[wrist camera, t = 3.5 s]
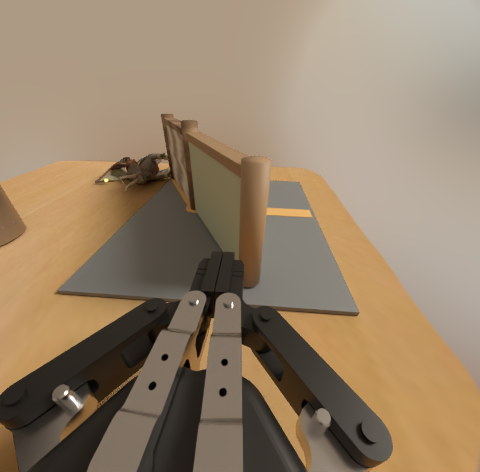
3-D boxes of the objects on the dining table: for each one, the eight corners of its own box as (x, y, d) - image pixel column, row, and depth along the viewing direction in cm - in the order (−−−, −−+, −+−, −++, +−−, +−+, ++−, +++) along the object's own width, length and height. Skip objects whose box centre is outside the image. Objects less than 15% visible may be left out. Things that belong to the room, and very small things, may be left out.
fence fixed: (205, 209, 38) (199, 121, 31) (192, 212, 38) (182, 122, 30) (180, 176, 53) (171, 111, 45) (170, 177, 52) (159, 111, 45)
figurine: (161, 164, 42) (71, 174, 40) (169, 193, 45) (86, 203, 44) (173, 144, 58) (109, 151, 57) (178, 166, 62) (118, 173, 60)
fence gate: (193, 211, 37) (183, 128, 30) (206, 208, 38) (200, 127, 31) (244, 290, 23) (250, 165, 15) (263, 283, 23) (278, 162, 16)
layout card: (55, 293, 23) (52, 289, 22) (172, 177, 53) (171, 175, 53) (357, 315, 21) (359, 311, 21) (298, 183, 52) (299, 181, 52)
